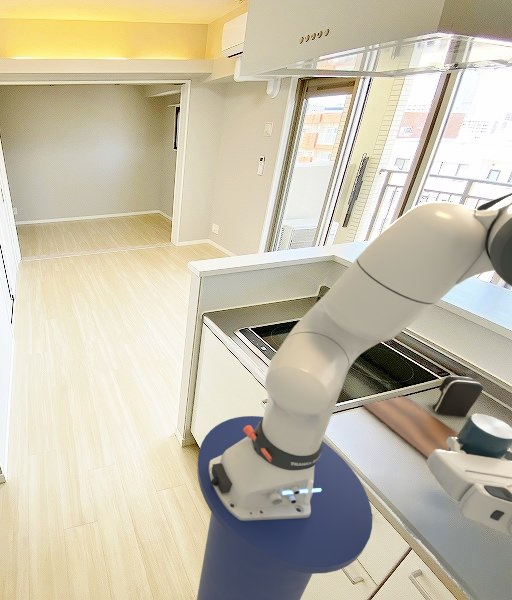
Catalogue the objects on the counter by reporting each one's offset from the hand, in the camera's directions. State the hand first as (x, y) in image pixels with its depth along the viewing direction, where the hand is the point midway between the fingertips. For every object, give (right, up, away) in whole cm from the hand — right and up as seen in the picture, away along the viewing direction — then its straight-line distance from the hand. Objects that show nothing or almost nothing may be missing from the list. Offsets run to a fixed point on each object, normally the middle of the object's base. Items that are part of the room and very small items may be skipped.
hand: (474, 442), depth 63 cm
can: (0, -6, +2) cm, 7 cm away
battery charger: (+23, -4, +28) cm, 36 cm away
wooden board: (+11, -6, +24) cm, 27 cm away
